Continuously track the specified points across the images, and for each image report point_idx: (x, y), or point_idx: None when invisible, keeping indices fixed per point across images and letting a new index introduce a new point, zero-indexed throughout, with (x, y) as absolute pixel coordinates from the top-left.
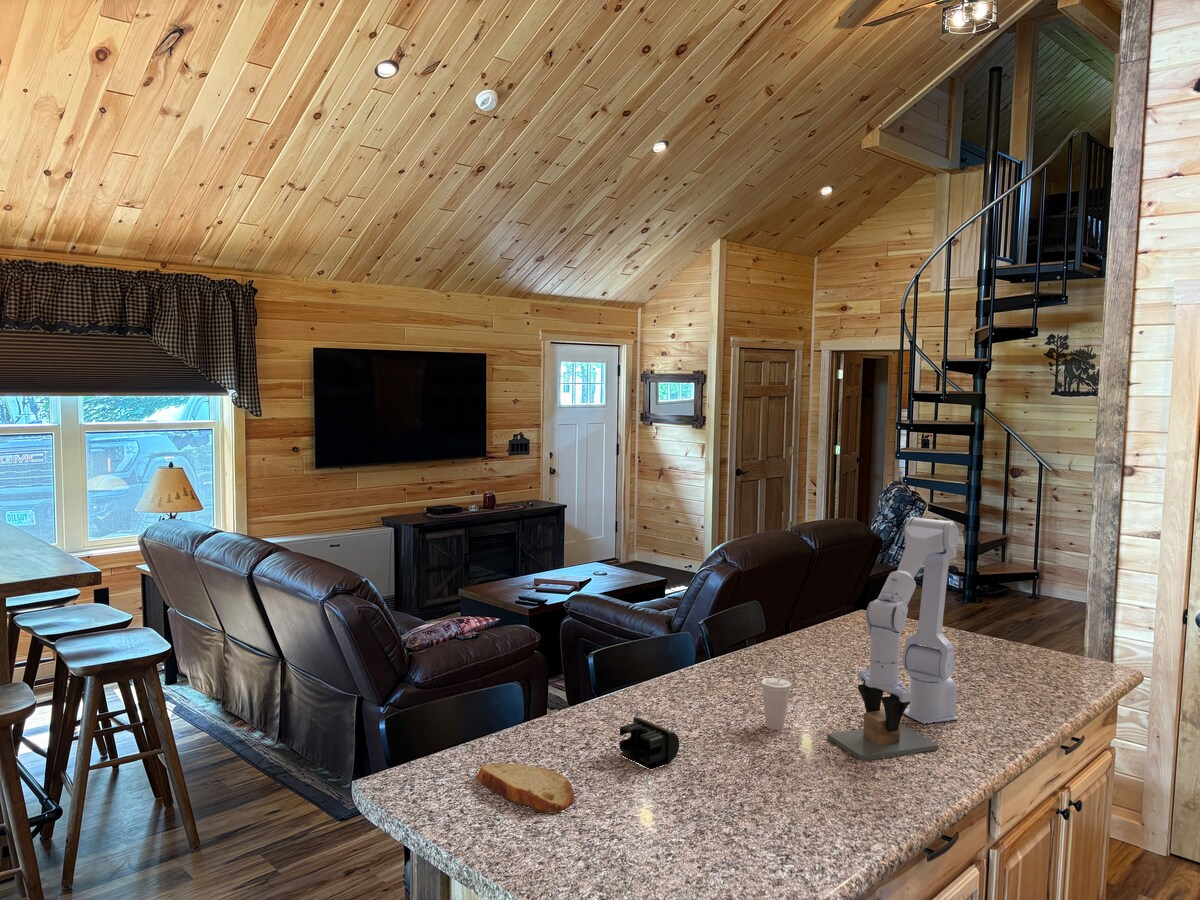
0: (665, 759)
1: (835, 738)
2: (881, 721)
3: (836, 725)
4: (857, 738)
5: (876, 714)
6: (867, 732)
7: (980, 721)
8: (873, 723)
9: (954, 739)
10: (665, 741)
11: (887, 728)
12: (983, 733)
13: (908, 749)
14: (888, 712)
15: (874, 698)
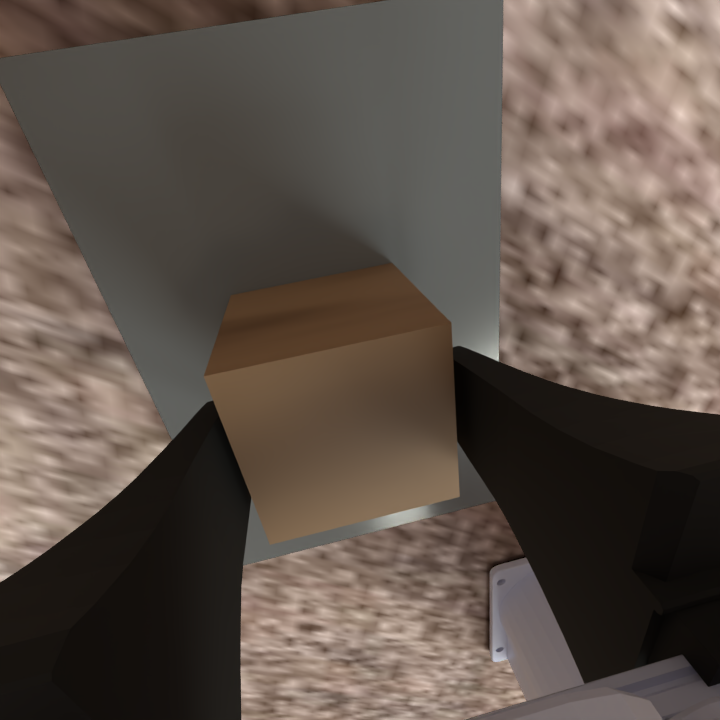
0: None
1: (398, 9)
2: (214, 396)
3: (640, 198)
4: (367, 206)
5: (381, 412)
6: (357, 283)
7: (461, 690)
8: (295, 334)
9: (338, 613)
10: None
11: (208, 407)
12: (373, 683)
13: (171, 438)
14: (90, 522)
15: (536, 506)
